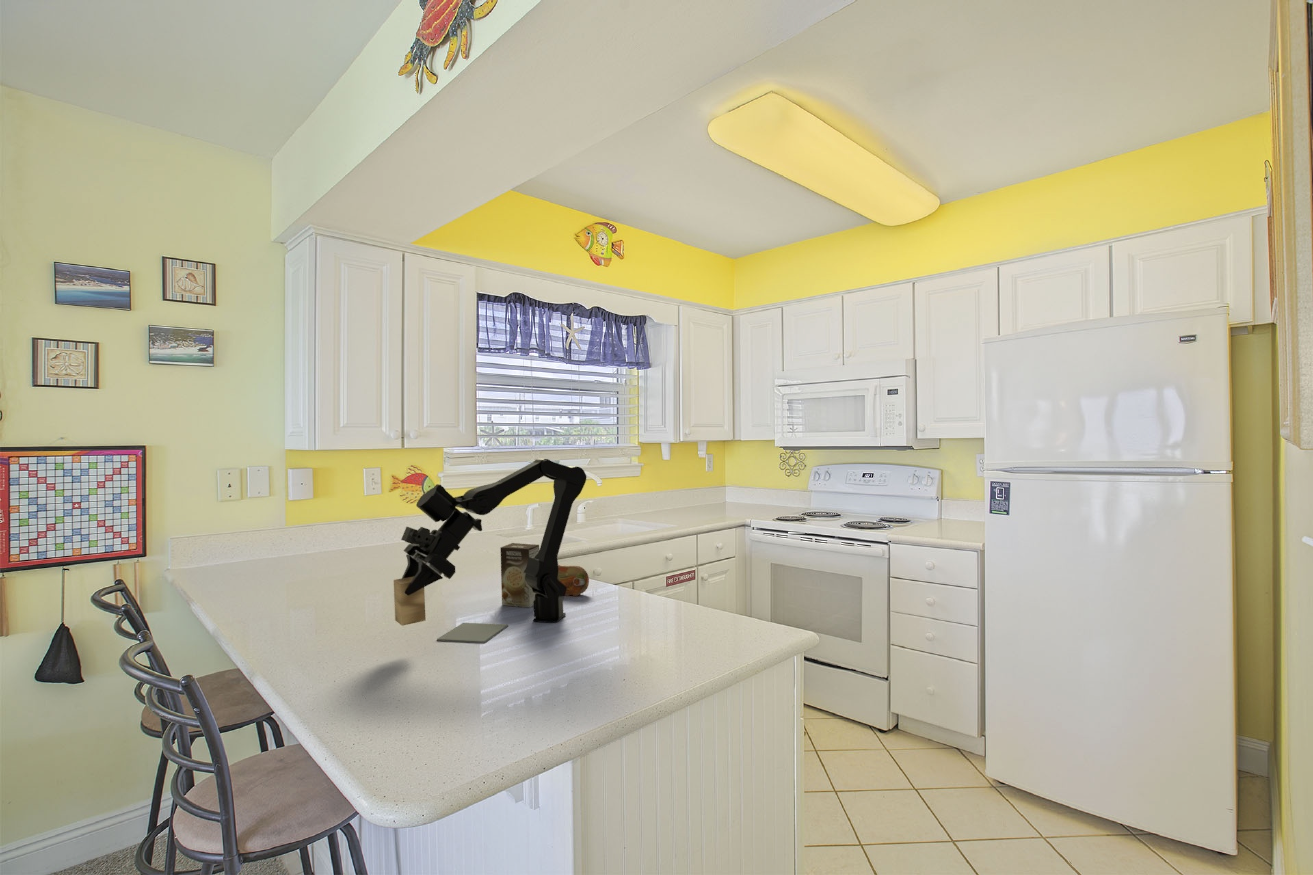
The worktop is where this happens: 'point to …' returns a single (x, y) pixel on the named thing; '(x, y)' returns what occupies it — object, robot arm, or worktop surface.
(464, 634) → the slate mat
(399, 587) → the oak block
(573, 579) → the tin
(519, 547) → the coffee box
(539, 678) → the worktop surface
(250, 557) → the worktop surface
